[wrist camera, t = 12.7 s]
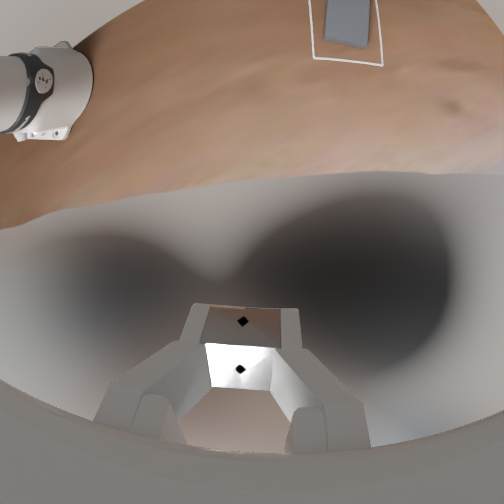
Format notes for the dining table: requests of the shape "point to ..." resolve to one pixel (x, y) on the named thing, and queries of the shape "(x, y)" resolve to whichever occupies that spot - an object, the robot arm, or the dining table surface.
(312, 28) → the white wire frame
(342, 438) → the robot arm
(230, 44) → the dining table surface
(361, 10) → the tile
